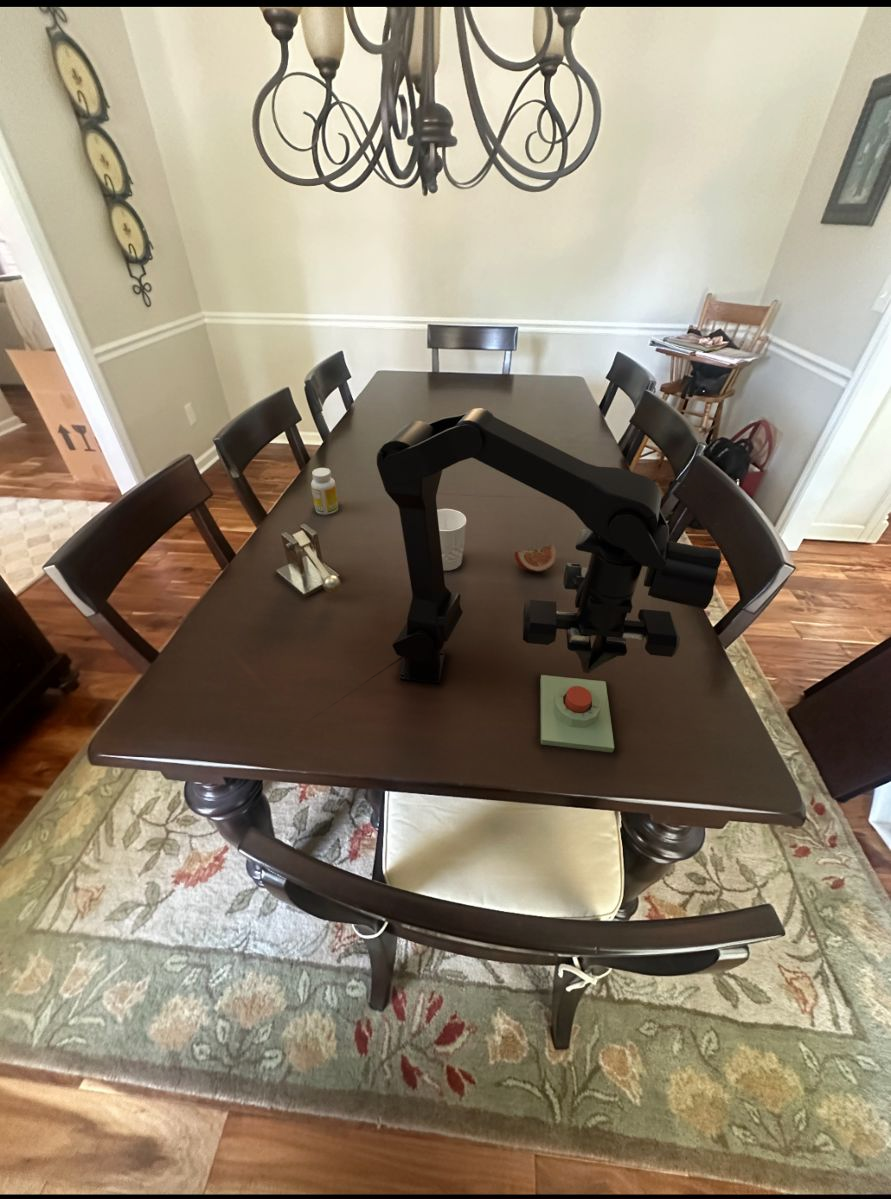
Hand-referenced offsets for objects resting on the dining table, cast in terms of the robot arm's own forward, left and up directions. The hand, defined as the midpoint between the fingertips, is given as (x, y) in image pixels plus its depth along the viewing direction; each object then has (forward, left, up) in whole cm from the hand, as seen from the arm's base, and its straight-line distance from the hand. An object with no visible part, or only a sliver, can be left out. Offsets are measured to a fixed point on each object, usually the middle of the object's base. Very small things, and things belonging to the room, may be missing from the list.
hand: (585, 670), depth 71 cm
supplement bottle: (+51, +54, -10) cm, 75 cm away
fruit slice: (+35, +6, -10) cm, 37 cm away
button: (0, 0, -7) cm, 7 cm away
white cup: (+35, +24, -10) cm, 43 cm away
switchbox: (0, 0, -10) cm, 10 cm away
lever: (+24, +47, -5) cm, 53 cm away
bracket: (+26, +50, -10) cm, 57 cm away
